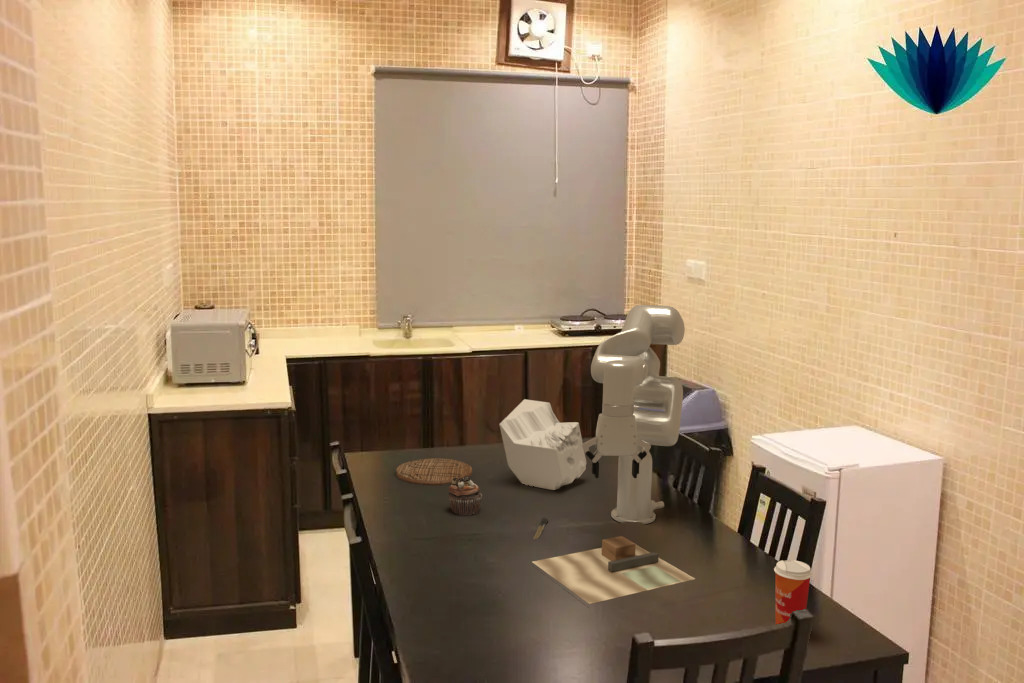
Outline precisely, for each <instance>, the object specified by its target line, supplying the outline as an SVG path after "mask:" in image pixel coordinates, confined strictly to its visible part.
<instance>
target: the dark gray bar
mask: <svg viewBox="0 0 1024 683" xmlns="http://www.w3.org/2000/svg"><path fill="white" fill-rule="evenodd" d="M659 555H660V554H659V553H657V552H655V551H654V552H650V553H648V554H643V555H639V556H634V557H629V558H624V559H620V560H615V561H610V562H608V570H609V571H611V572H614V571H619V570H623V569H628V568H632V567H637V566H641V565H646V564H651V563H655V562H658V559H659V558H660V556H659Z"/></svg>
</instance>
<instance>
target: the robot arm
mask: <svg viewBox="0 0 1024 683" xmlns="http://www.w3.org/2000/svg"><path fill="white" fill-rule="evenodd" d="M685 328H686V327H685V322H684V319H683V318H682V316H681V314H680V312H679V310H678V309H677V308H675V307H672V306H671V305H658V304H657V305H655V304H654V305H653V304H638V305H635V306H633V307H632V308H630V310H629V311H628V313H627V315H626V318H625V320H624V324H623V326H622V329H621V331H619V332H617V333H616V334H613V335H612V336H610V337H607V338H606V339H605V340H603V341H601V342H600V344H598V346H597V348H596V350H595V352H594V356H593V357H592V360H591V365H590V374H591V377H592V379H593V381H595V382H596V383H599V384H602V412H601V413H599V414H598V418H597V423H596V428H595V429H596V430H595V436H594V437H592V438H590V439H588V440H587V441H585V442H583V444H582V447H583V449H584V453H585V456H586V457H587V458H588V459H589V460H591V474H592V475H593V476H594V478H595V479H598V478H599V477H600V476H599V475H600V463H599V460H600V459H601V458H602V456H603V457H604V456H606V457H607V456H608V457H609V456H610V457H611V456H613V457H614V456H615V457H617V456H618V466H617V468H618V469H617V494H616V495H617V500H616V507H615V508H614V509H612V510H611V512H610V515H611V518H612V519H613V520H615V521H616V522H619V523H626V522H628V523H630V522H631V523H641V524H643V525H648V524H650V523H653V522H655V520H656V513H655V512H654V511H655V510H656V509H663V508H664V507H665V502H664V501H662V500H661V501H655V500H653V499H652V479H653V478H652V477H653V475H652V474H653V458H652V454H651V452H650V449H651V448H652V446H659V447H660V446H661V447H663V446H664V447H672V446H674V445H675V444H676V443H677V442H678V440H679V434H680V428H681V419H682V412H683V411H682V408H683V400H684V390H683V389H684V388H683V383H682V382H681V380H680V379H678V378H676V377H673V376H661V375H660V369H661V361H660V359H659V357H658V355H657V353H656V352H655V351H654V350H653V349H652V347H650V346H651V344H652V345H666V346H668V345H669V346H678V345H680V344H681V343H682V341H683V340H684V337H685ZM639 408H642V409H639ZM650 409H651V410H650ZM653 409H654V410H653ZM660 410H661V411H660ZM592 446H594V447H595V451H594V452H593V453H592V452H591V451H590V447H592Z"/></svg>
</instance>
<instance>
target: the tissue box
mask: <svg viewBox="0 0 1024 683" xmlns="http://www.w3.org/2000/svg"><path fill="white" fill-rule="evenodd" d="M498 425H499V429H500V435H501V438H502V443H503V448H504V451H505V452H504V453H505V458H506V462H507V467H508V468H509V469H510V470H511V472H512V474H514V476H515V477H516V478H517V479H518V481H519V482H520V483H521V484H522V485H523V484H525V485H524V486H528V485H529V486H530V487H533V486H534V487H533V488H541V489H546V490H549V491H556V490H558V491H559V489H560V488H561V487H563V486H566V485H569V484H572V483H573V482H574V480H575V479H579V478H580V477H581V476H582V474H583V473H584V472H585V471H586V469H587V467H586V466H587V464H588V463H587V458H586V453H585V451H584V449H583V447H582V444H583V443H584V442H583V438H582V434H581V428H580V423H579V422H576V421H574V422H560V420H559V419H558V418H557V416H556V414H555V413H554V411H553V408H552V405H551V402H547V401H540V400H532V399H526V398H524V399H523V400H522V401H521V402H520V403H519V404H518V405H517V406H516V407H514V409H513V410H511V412H510V413H509V414H508V415H507V416H506V417H504V419H503V420H502V421H501V422H499V424H498ZM529 486H528V487H529Z"/></svg>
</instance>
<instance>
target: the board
mask: <svg viewBox="0 0 1024 683" xmlns="http://www.w3.org/2000/svg"><path fill="white" fill-rule="evenodd" d="M648 553H651V551H648V550H647V549H644V548H643V547H641V546H639V545H637V544H636V547H635V556H639V555H643V554H648ZM608 562H610V560H609V559H607V558H606V557H604V556H603V555H602V547H599V548H593V549H588V550H583V551H579V552H574V553H568V554H564V555H559V556H554V557H549V558H542V559H538V560H534V561H532V563H533V564H534V565H535V566H537V567H538V568H539V569H541V570H542V571H544V572H545V573H546V574H548V575H549V576H550V577H552V578H553V579H554V580H552V582H553V583H555V580H556V581H557V582H559V583H560V584H561V585H563V587H565V589H564V588H563V590H564V591H565V590H566V588H567V589H568V590H570V591H571V592H572V593H573V594H575V595H576V596H577V597H579V598H580V599H582V600H583V601H584V602H585V603H587V604H588V605H590V604H595V603H600V602H604V601H609V600H612V599H617V598H620V597H621V598H622V597H625V596H629V595H633V594H634V595H635V594H638V593H642V592H647V591H652V590H655V589H660V588H663V587H664V588H665V587H668V586H672V585H676V584H681V583H685V582H690V581H693V580H696V578H695V577H694V576H691V575H689V574H688V573H686V572H684V571H682V570H681V569H679V568H677V567H676V566H674V565H672V564H670V563H669V562H667V561H665V560H664V559H661V558H660V557H659V559H658V562H655V563H651V564H646V565H641V566H637V567H632V568H628V569H623V570H619V571H614V572H611V571H609V570H608ZM538 568H536V570H537V571H539V572H540V573H541V574H543V575H544V576H547V575H546V574H544V573H543V572H542V571H540V570H538ZM567 593H568V594H569V595H571V596H572V597H573V598H575V599H576V600H578V599H577V598H576V597H575V596H574V595H572V594H571V593H570V592H568V591H567ZM579 603H582V601H581V600H579ZM585 603H583V605H585V606H586V607H587V608H589V609H590V607H589V606H588V605H586V604H585Z"/></svg>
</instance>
